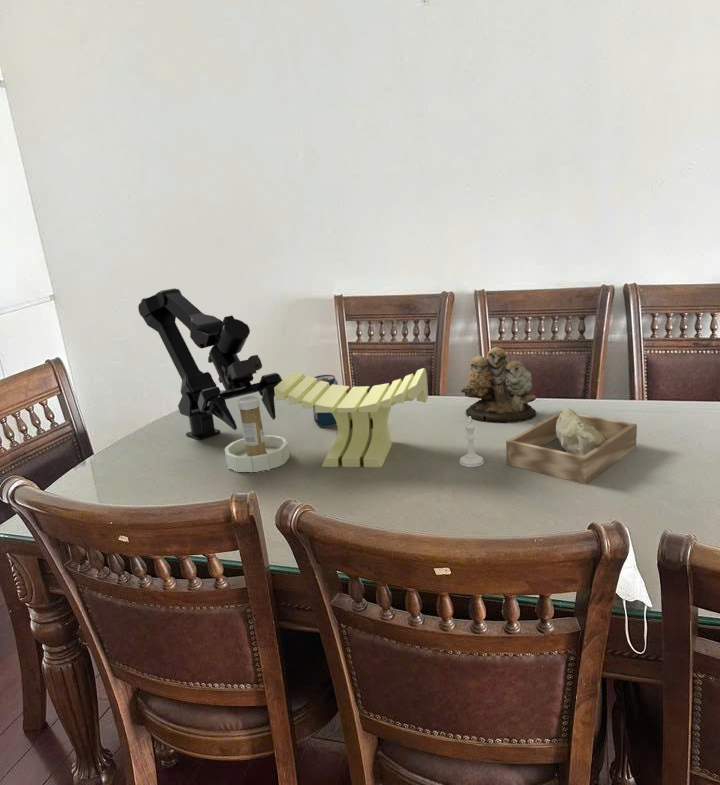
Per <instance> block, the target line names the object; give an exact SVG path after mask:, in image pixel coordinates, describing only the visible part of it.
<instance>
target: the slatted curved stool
mask: <svg viewBox="0 0 720 785" xmlns="http://www.w3.org/2000/svg"><path fill="white" fill-rule="evenodd" d="M314 377H315V376H309V375H307V376H306V375H305V373H304V372H301V371H292V372H290V373H289V374H288V375H287V376H286V377H285V378H283V379H282V381H281V382H280V383H279V384H278V385H277V386H275V387H274V392H275V396H274V401H285V400H286V399H287V400H288V405H298V404H301V409H302V410H304V409H306V410H307V409H313V406H314V405H315V413H332V414H333V416H334V418H335V420H336V423H337V435H336V438H335V441H334V443H333V445H332V446H331V448H330V451H328V453H327V454H326V456H325V458H324V461H323V463H322V465H321V466H322V468H326V467H327V468H331V467H332V468H338V467H339V466H342V468H361V466H363V467H364V468H383V465H384V463H385V461H386V458H387V457H388V455H389V452H390V450H391V447H392V438H391V436H390V432H389V426H388V425H389V415H390V412H391V409H392V406H394V405H396V404H404V403H405V402H413V401H414V399H416V401H417V402H421V403H427V400H428V398H429V389H428V387H429V386H428V374H427V370H426V368H425V367H423V368H420V369H417V370H416V372H415V374H414V373H411V374H410V373H409V374H407V375H405V376H404V378H403V379H402V378H399V379H398V378H397V379H395V380H392V382H391V384H390V383H389V382H388V383H383V384H382V383H381V384H375V385H373V386H372V387H370V385H369V386H368V385H366V386H352V388H350V386H349V385H342V384H338V385H334V384H332V385H331V386H330V384H329V382H325V381H319V382H318V381H317V378H314Z"/></svg>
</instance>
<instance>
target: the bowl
mask: <svg viewBox="0 0 720 785" xmlns="http://www.w3.org/2000/svg"><path fill="white" fill-rule="evenodd" d="M264 439H265V447H266V451H267V454H263V455H257V456H247V450H246V444H245V440H244V437H243V438H240V439H236V440H235V441H232V442H230V443H229V444H228V445H227V446H226V447H224V454H225V462H226V466H228V467H227V469H228V468H229V469H232V470H234V471H233V472H235V471H237V472H256V471H262V470H268V469H271V468H274V467H276V466H278V465H281V464H283V463H284V462H285V461H286V460H287V459H288V458H289V459H290V452H289V446H288V445H289V443H288V442H287V440H286V438H285V437H282V436H279V435H275V434H272V435H271V434H264ZM289 459H288V460H289ZM288 460H287V461H288ZM287 461H286V462H287ZM286 462H285V463H286ZM285 463H284V464H285ZM284 464H283V465H284ZM281 466H282V465H281ZM276 468H277V467H276ZM229 469H228V470H229ZM274 469H275V468H274ZM232 470H231V471H232ZM268 471H269V470H268ZM237 472H236V473H237ZM262 472H263V471H262Z"/></svg>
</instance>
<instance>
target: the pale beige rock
mask: <svg viewBox="0 0 720 785" xmlns="http://www.w3.org/2000/svg"><path fill="white" fill-rule="evenodd" d="M577 414H578V413H576V412H575V411H574V410H573V409H571V408H570V407H565V408H564V410H563V412H562V413H561V414H560V416H559V418H558V420H557V423H556V434H557V438H556V439H558V442H559V443H560V444H561V447H562V448H563V449H564V450H565V452H567V453H571V454H576V455H580V456H584V455H586V454H587V453H589V452H590V451H592V450H593V449H595V448H596V447H598V446H599V445H601V444H602V443H604V442H605V441H606V440H605V438H604V436H603V435H602V434H601V433H600V432H599V431H598V430H596V429H595V428H594V427H591V426H590V425H589V424H588V423H587V422H585V421H584V420H583V419H582V418H581V417H580V416H579V415H577Z"/></svg>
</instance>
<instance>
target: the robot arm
mask: <svg viewBox="0 0 720 785" xmlns="http://www.w3.org/2000/svg"><path fill="white" fill-rule="evenodd" d="M137 308H138V312H139V315H140V316H141V317H142V318H143V320H144V322H145V324H146V325H147V326H148V327H150V328H151V329H152V330H154V331H156V332H157V333H158V334H159V337H160V339H161V341H162V343H163V345H164V347H165V349H166V351H167V353H168V354H169V357H170V359H171V361H172V363H173V365H174V367H175V369H176V371H177V373H178V375H179V377H180V379H181V386H180V394H181V398H180V400H179V403H178V405H177V407H178V411H179V413H180V414H181V415H183V416H186V417H188V421H189V428H190V431H188V432H186V433H185V436H187V437H190V438H194V439H196V440H202V439H206V438H208V437H211V436H214V435H216V434H219V433H221V429H217V428H216V427H215V421H214V416H215V417H216V418H218V419H219V420H221V421H222V422H224V423H225V424H226V425H227V426H228V427H230V428H231V429H232V430H234V431H236V430H237V429H238V426H237V424H236V421H235V419H234V417H233V415H232V413H231V411H230V409H229V408H228V406H227V402H226V401H227V400H229V399H234V398H238V397H242V396H245V395H249V394H254V393H259V395H260V396H261V397H262V398H261V401H262V404H263V406H264V408H265V409H266V410H267V413H268V414H269V417H270V418H271V419H272V420H273V421H274V420H275V419H276V417H277V416H276V407H275V392H274V387H275V386H277V385H278V384H279V383H280V382H281V381H282V380H283V379H282V376H281V375H280V374H279V373H277V372H272V373H268V374H263V375H262V376H261V378H260V380H259V381H258V382H256V383H251V382H253V380H254V374H257V371H259V370H261V369H262V368H263V364H262V360H261V359H260V357H259V355H258V354H254V355H250V357H248V358H247V359H245V360H240V358H239V356H238V354H239V353H240V352H241V351H242V349H243V348H244V346H245V344H246V342H247V340H248V338H249V335H250V332H251V329H250V326H249V325H248V324H247V323H246V322H244V321H242V320H240V319H237V318H235V317H234V316H233V315H228V316H224V318H223V320H221V319H219V318H218V317H216V316H214V315H210V314H205V313H203V312H202V311H201V310H200V309H198V308H197V307H196V306H195V305H194V304H193V303H192V302H191V301H190V300H188V298H186V297H185V296H183V294H182V293H181V290H180V289H179V288H175V287H174V288H169V289H163V290H160V291H158V292H156V293H155V294H154V295H151V296H149V297H144V298H141V301H140V303H139V304H138V307H137ZM176 318H177V319H178V321H180V322H181V323H182V324H183V325H184V326H185V327H186V328H187V329H188V330H189V331H190V332H189V337H190V339H191V341H192V342H193V343H194V344H195V345H196V346H197V347H198V348H199V349H206V348H210V347H211V348H210V350H209V352H208V358H207V361H208V363H209V364H211V363H212V364H213V366H214V368H215V370H216V372H217V374H218V382H219V383H220V384H222V386H223V388H224V390H222V391H221V389H220V387H219V386H217V383H216V382H215V381H214V379H213V376H212V374H211V373H210V372H209V371H207V372H203V371H201V370H200V369H199V366H198V364H197V363H196V361H195V358H194V357H193V355H192V353H191V351H190V348H189V347H188V345H187V343H186V341H185V339H184V337H183V335H182V333H181V331H180V329H179V327H178V325H177V323H176V321H177V320H176Z"/></svg>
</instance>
